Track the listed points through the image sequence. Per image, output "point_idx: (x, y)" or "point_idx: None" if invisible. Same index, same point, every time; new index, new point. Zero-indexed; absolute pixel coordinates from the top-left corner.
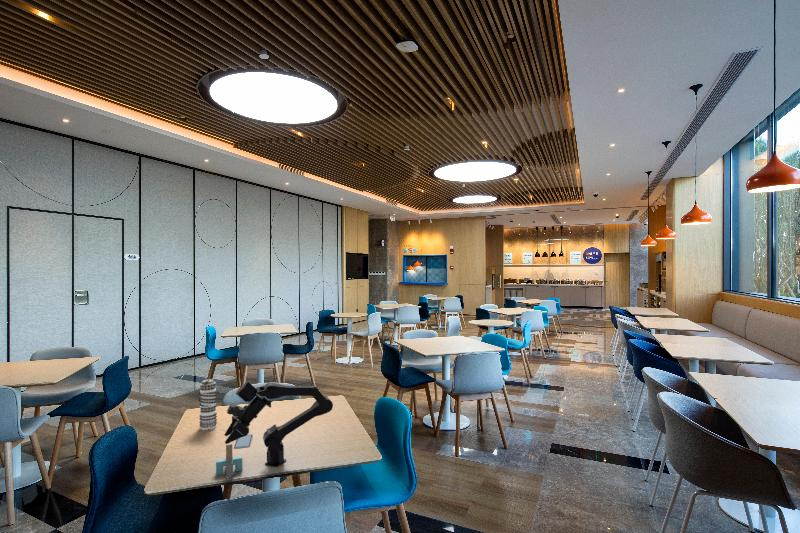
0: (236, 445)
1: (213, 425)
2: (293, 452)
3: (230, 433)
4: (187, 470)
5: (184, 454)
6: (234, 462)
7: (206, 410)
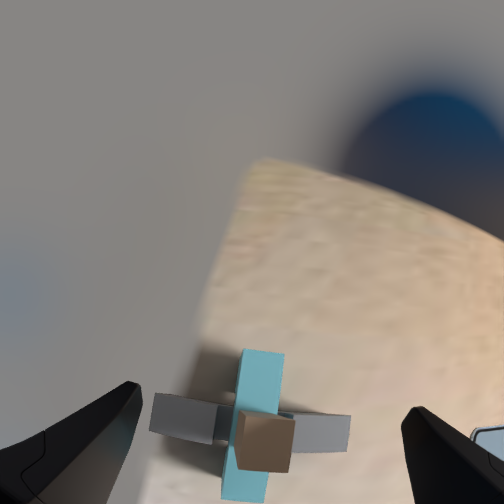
0: (487, 434)
1: None
2: None
3: (409, 469)
4: (356, 256)
5: (474, 262)
6: (227, 453)
7: None
